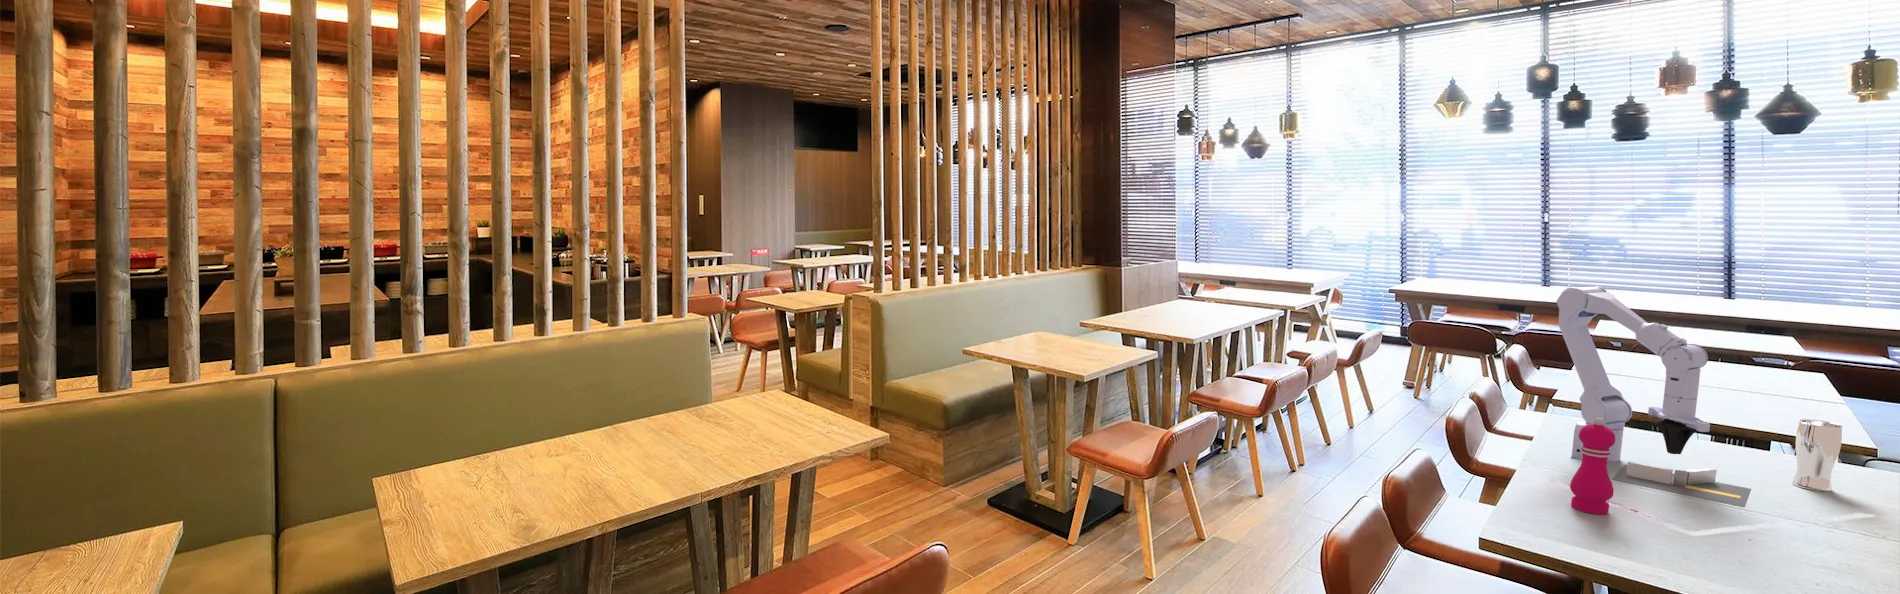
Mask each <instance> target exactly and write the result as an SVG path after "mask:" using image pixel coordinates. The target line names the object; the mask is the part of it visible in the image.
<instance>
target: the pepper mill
mask: <svg viewBox="0 0 1900 594" xmlns="http://www.w3.org/2000/svg"><path fill="white" fill-rule="evenodd" d="M1593 423H1594V424H1589V425H1586V426H1584V427H1583V428H1581V430H1580V432H1579V439H1580V440H1581V442H1582V443H1583V445H1581V450H1580V451H1581V452H1582V453H1583V458H1581V464H1580V466H1579V468H1578V469H1577V471H1576V472H1575V474H1574V475H1573V476H1572V479H1571V481H1570V484H1569V488H1570V491H1571V493H1572V494H1573V495H1574V496H1572V497H1571V501H1570V504H1571V507H1572V508H1573V509H1574V510H1576V511H1580V512H1582V513H1583V512H1584V513H1586V514H1590V515H1591V514H1593V515H1607V514H1609V508H1610V504H1609V503H1608V502H1609V500H1611V499H1612V498H1613V497H1614V486H1613V483H1612V479H1610V476H1609V473H1608V469H1607V468H1608V467H1607V465H1608V461H1607V459H1608V457H1610V456H1611V454H1610V452H1611V450H1610V449H1609V448H1610V447H1611V446H1613V445H1614V443H1615V434H1614V432H1613V431H1612V430H1611V429H1610V428H1608V427H1606V426H1603V424H1604V420H1603V419H1602V418H1595V419H1594V420H1593Z"/></svg>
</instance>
